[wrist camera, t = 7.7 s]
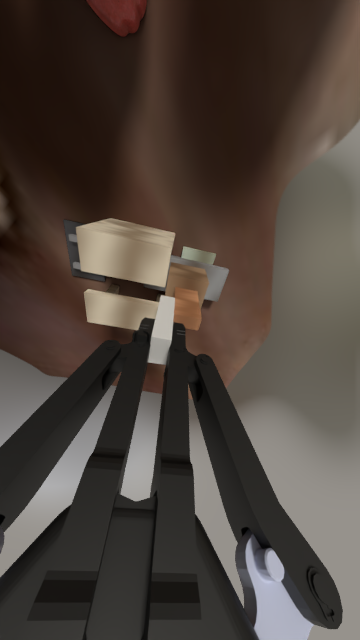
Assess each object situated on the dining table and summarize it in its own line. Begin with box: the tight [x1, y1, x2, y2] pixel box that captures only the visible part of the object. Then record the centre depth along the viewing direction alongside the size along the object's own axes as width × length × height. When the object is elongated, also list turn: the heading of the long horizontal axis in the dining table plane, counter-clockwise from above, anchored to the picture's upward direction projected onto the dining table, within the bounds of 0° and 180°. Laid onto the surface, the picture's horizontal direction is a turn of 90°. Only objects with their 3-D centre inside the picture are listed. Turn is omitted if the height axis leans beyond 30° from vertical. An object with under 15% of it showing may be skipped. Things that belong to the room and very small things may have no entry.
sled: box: [144, 256, 229, 330], centre depth 22 cm, size 12×5×12 cm, turn 78°
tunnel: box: [63, 218, 216, 330], centre depth 23 cm, size 22×11×9 cm, turn 78°
